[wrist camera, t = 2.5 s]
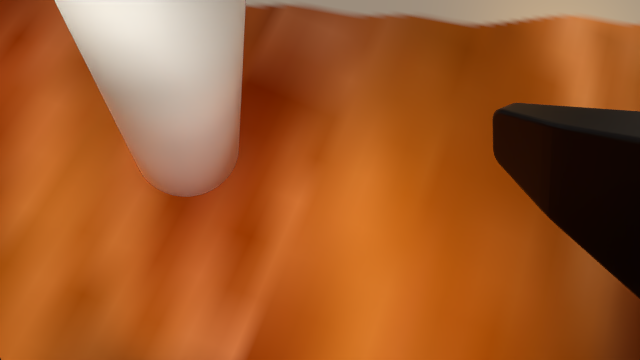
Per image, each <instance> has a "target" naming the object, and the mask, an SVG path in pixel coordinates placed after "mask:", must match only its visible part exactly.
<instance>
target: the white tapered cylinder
mask: <svg viewBox="0 0 640 360" xmlns="http://www.w3.org/2000/svg"><path fill="white" fill-rule="evenodd" d="M54 1H55V3H56V5H57V7H58V9H59V11H60V13H61V15H62V17H63V19H64V21H65V23H66V25H67V27H68V29H69V31H70V33H71V35H72V37H73V39H74V41H75V43H76V45H77V47H78V49H79V51H80V53H81V55H82V57H83V59H84V61H85V63H86V65H87V67H88V69H89V71H90V73H91V75H92V77H93V79H94V81H95V83H96V85H97V87H98V89H99V91H100V93H101V95H102V97H103V99H104V101H105V103H106V105H107V107H108V109H109V111H110V113H111V115H112V117H113V119H114V121H115V123H116V125H117V127H118V129H119V131H120V133H121V134H122V136H123V138H124V140H125V142H126V144H127V146H128V148H129V150H130V152H131V154H132V156H133V158H134V160H135V162H136V164H137V166H138V168H139V170H140V172H141V174H142V175H143V176H144V178H145V179H146V180H147V181H148V182H149V183H150V184H151V185H153V186H154V187H156V188H157V189H159V190H161V191H163V192H165V193H168V194H171V195H175V196H184V197H186V196H196V195H201V194H204V193H207V192H209V191H211V190H213V189H215V188H216V187H218V186H219V185H220V184H222V183H223V182H224V181H225V180H226V179H227V178H228V176H229V175H230V174H231V172H232V171H233V169H234V167H235V164H236V162H237V158H238V152H239V134H240V112H241V91H242V70H243V48H244V27H245V6H246V0H54Z"/></svg>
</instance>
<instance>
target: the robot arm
mask: <svg viewBox="0 0 640 360" xmlns="http://www.w3.org/2000/svg"><path fill="white" fill-rule="evenodd" d="M493 151H494V155H495V158H496V160H497V161H498V163H499V164H500V165H501V166H502V167H503V168H504V170H505V171H506V172H507V173H508V174H509V175H510V176H511V177H512V178H513V179H514V181H515V182H516V183H517V184H518V185H519V186H520V187H521V188H522V189H523V190H524V192H525V193H526V194H527V195H528V196H529V197H530V198H531V199H532V200H533V201H534V203H535V204H536V205H537V206H538V207H539V208H540V209H541V210H542V211H543V212H544V213H545V214H546V215H547V216H548V217H549V218H550V219H551V220H552V221H553V222H554V223H555V224H556V225H557V226H558V227H559V228H560V229H562V230H563V231H564V232H565V233H566V234H567V235H568V236H569V237H571V238H572V239H573V240H574V241H575V242H576V243H577V244H578V245H580V246H581V247H582V248H583V249H584V250H585V251H586V252H587V253H589V254H590V255H591V256H592V257H593V258H594V259H595V260H596V261H598V262H599V263H600V264H601V265H602V266H603V267H604V268H605V269H607V270H608V271H609V272H610V273H611V274H612V275H613V276H614V277H616V278H617V279H618V280H619V281H620V282H621V283H622V284H623V285H625V286H626V287H627V288H628V289H629V290H630V291H631V292H632V293H633V294H635V295H636V296H637V297H638V298H639V299H640V112H639V111H625V110H610V109H596V108H582V107H568V106H553V105H539V104H525V103H513V104H510V105H508V106H505V107H503V108H500V109H498V110H496V112H495V113H494V115H493ZM0 360H1V359H0Z"/></svg>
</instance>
